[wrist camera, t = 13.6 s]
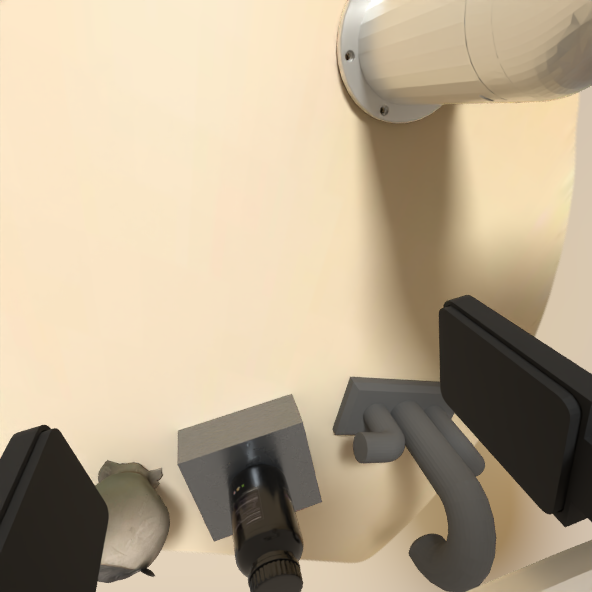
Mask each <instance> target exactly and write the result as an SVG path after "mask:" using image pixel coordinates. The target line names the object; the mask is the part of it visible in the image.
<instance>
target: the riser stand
mask: <svg viewBox="0 0 592 592" xmlns="http://www.w3.org/2000/svg"><path fill="white" fill-rule="evenodd" d="M258 464H268V465H272V466H275V467H277V468H278V469H280V470H281V471H282V472H283V474H284V475H285V478H286V481H287V484H288V487H289V491H290V495H291V498H292V502H293V506H294V509H295V512H296V511H299V510H302V509H304V508H307V507H309V506H312V505H315V504H317V503H320V502H322V500H321V496H320V492H319V488H318V484H317V480H316V475H315V471H314V467H313V463H312V459H311V455H310V450H309V446H308V442H307V438H306V434H305V430H304V426H303V422H302V419H301V416H300V414H299V411H298V409H297V406H296V403H295V401H294V398H293V395H292V394H291V395H287V396H284V397H281V398H278V399H275V400H272V401H269V402H266V403H263V404H260V405H256V406H253V407H250V408H247V409H244V410H241V411H238V412H235V413H232V414H229V415H226V416H222V417H219V418H216V419H213V420H210V421H207V422H204V423H201V424H198V425H195V426H192V427H188V428H185V429H182V430H179V431H178V466H179V468H180V470H181V473H182V475H183V477H184V479H185V481H186V483H187V485H188V487H189V490H190V492H191V494H192V496H193V498H194V500H195V502H196V504H197V506H198V509H199V511H200V513H201V515H202V517H203V519H204V521H205V523H206V526H207V528H208V530H209V532H210V534H211V536H212V538H213V540H214V541H217V540H220V539H222V538H225V537H228V536H230V535H233V533H232V524H231V515H230V506H229V495H228V491H229V486H230V484H231V482H232V480H233V479H234V477H235V476H236V475H237V474H238V473H239V472H241V471H242V470H244V469H246V468H248V467H250V466H253V465H258Z"/></svg>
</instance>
